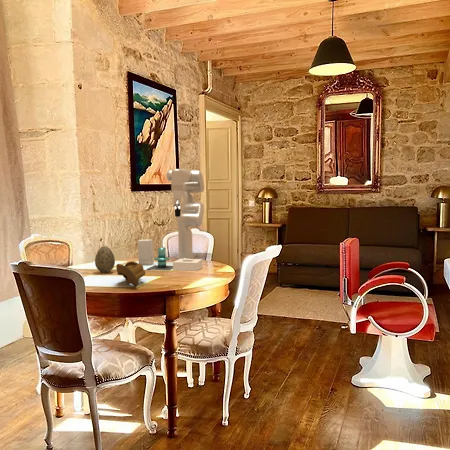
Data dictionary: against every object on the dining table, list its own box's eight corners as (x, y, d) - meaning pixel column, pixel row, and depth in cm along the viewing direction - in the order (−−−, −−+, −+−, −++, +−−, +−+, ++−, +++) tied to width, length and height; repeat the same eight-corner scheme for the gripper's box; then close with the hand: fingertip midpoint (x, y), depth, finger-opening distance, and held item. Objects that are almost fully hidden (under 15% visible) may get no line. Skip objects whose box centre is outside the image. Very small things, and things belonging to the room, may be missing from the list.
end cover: (157, 265, 262) (157, 246, 261) (171, 266, 260) (171, 247, 259) (152, 268, 253) (151, 248, 252) (166, 268, 251) (166, 248, 250)
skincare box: (153, 263, 275) (153, 239, 274) (151, 265, 268) (150, 240, 267) (141, 263, 276) (140, 239, 274) (137, 265, 269) (137, 240, 268)
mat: (154, 266, 265) (154, 265, 264) (176, 266, 262) (176, 265, 262) (146, 270, 251) (146, 269, 251) (169, 270, 248) (169, 269, 248)
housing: (179, 266, 262) (179, 258, 261) (202, 267, 259) (202, 259, 259) (173, 270, 248) (172, 262, 248) (196, 271, 245) (196, 262, 245)
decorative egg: (104, 270, 250) (104, 244, 249) (119, 271, 245) (118, 245, 244) (91, 273, 240) (90, 246, 239) (105, 275, 235) (105, 247, 234)
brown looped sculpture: (97, 271, 203) (120, 257, 224) (107, 296, 205) (129, 280, 226) (129, 261, 197) (150, 248, 218) (140, 287, 199) (159, 271, 220)
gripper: (172, 189, 277) (172, 215, 278) (170, 188, 260) (171, 217, 261) (183, 189, 278) (184, 215, 279) (183, 188, 261) (183, 216, 262)
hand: (177, 216), depth 270 cm, fingers open, 9 cm apart
